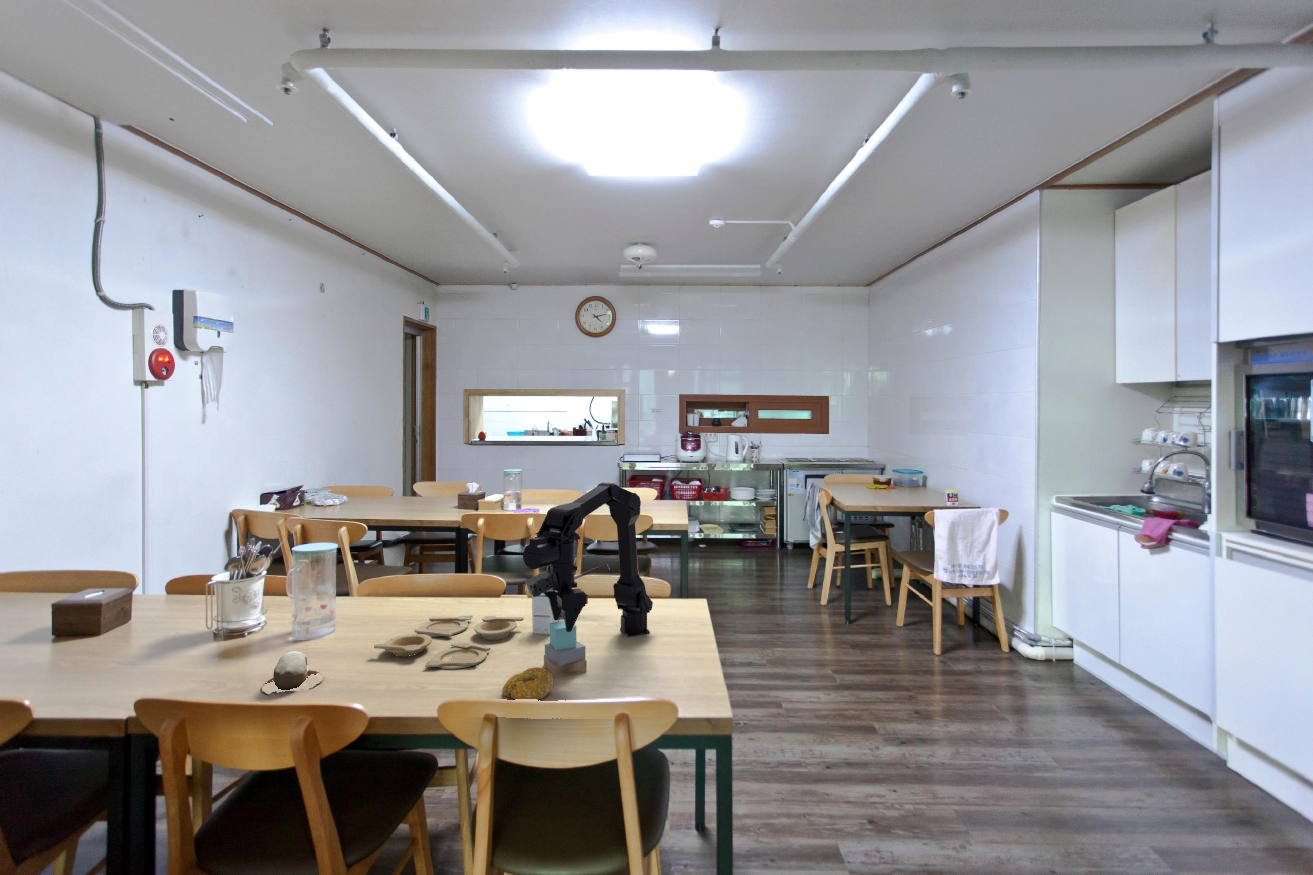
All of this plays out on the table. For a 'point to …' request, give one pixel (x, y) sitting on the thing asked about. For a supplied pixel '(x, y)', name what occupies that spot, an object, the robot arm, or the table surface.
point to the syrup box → (541, 614)
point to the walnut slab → (565, 667)
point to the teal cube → (562, 636)
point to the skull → (291, 671)
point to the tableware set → (462, 652)
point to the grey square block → (565, 654)
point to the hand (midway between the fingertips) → (562, 625)
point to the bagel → (529, 684)
